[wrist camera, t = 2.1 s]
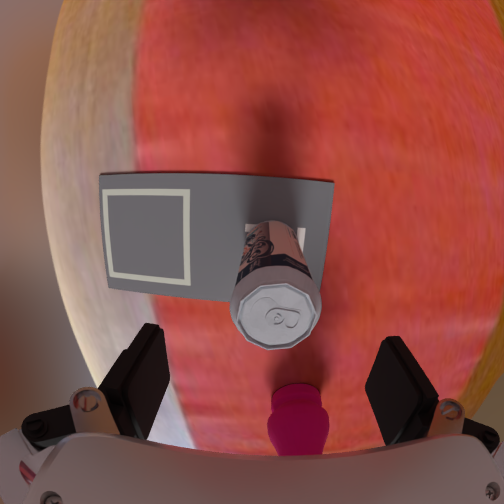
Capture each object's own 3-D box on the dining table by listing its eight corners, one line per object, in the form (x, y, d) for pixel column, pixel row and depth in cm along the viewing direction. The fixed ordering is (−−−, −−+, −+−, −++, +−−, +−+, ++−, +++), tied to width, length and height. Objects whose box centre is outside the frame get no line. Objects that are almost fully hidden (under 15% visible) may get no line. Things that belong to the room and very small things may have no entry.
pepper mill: (256, 404, 31) (248, 546, 13) (290, 372, 29) (301, 537, 10) (300, 419, 32) (309, 547, 13) (335, 391, 30) (364, 532, 11)
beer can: (250, 213, 24) (236, 264, 12) (304, 225, 24) (338, 284, 12) (240, 264, 25) (221, 347, 14) (291, 275, 25) (308, 361, 14)
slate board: (100, 175, 23) (99, 175, 23) (333, 182, 23) (334, 183, 22) (109, 287, 27) (108, 288, 27) (316, 306, 26) (316, 307, 26)
